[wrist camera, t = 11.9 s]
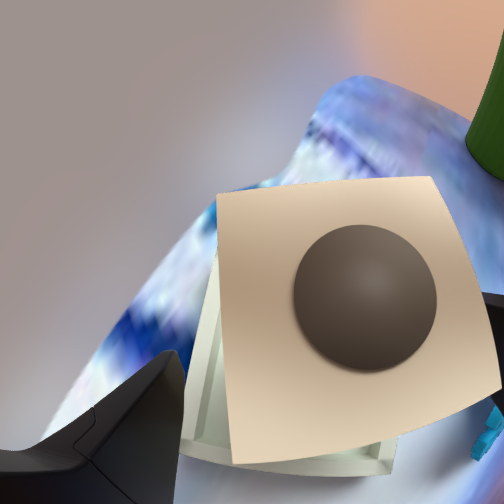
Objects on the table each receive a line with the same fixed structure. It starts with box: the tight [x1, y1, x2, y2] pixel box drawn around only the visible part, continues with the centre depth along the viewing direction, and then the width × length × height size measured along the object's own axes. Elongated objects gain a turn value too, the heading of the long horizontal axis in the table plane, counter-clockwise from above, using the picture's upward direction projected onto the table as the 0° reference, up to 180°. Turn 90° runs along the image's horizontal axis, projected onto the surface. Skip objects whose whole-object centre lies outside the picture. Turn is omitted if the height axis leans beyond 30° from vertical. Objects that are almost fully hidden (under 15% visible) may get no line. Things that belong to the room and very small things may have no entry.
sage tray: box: [179, 246, 398, 477], centre depth 16 cm, size 13×12×3 cm
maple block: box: [217, 176, 502, 464], centre depth 10 cm, size 5×5×13 cm
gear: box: [470, 405, 504, 462], centre depth 12 cm, size 11×6×10 cm
